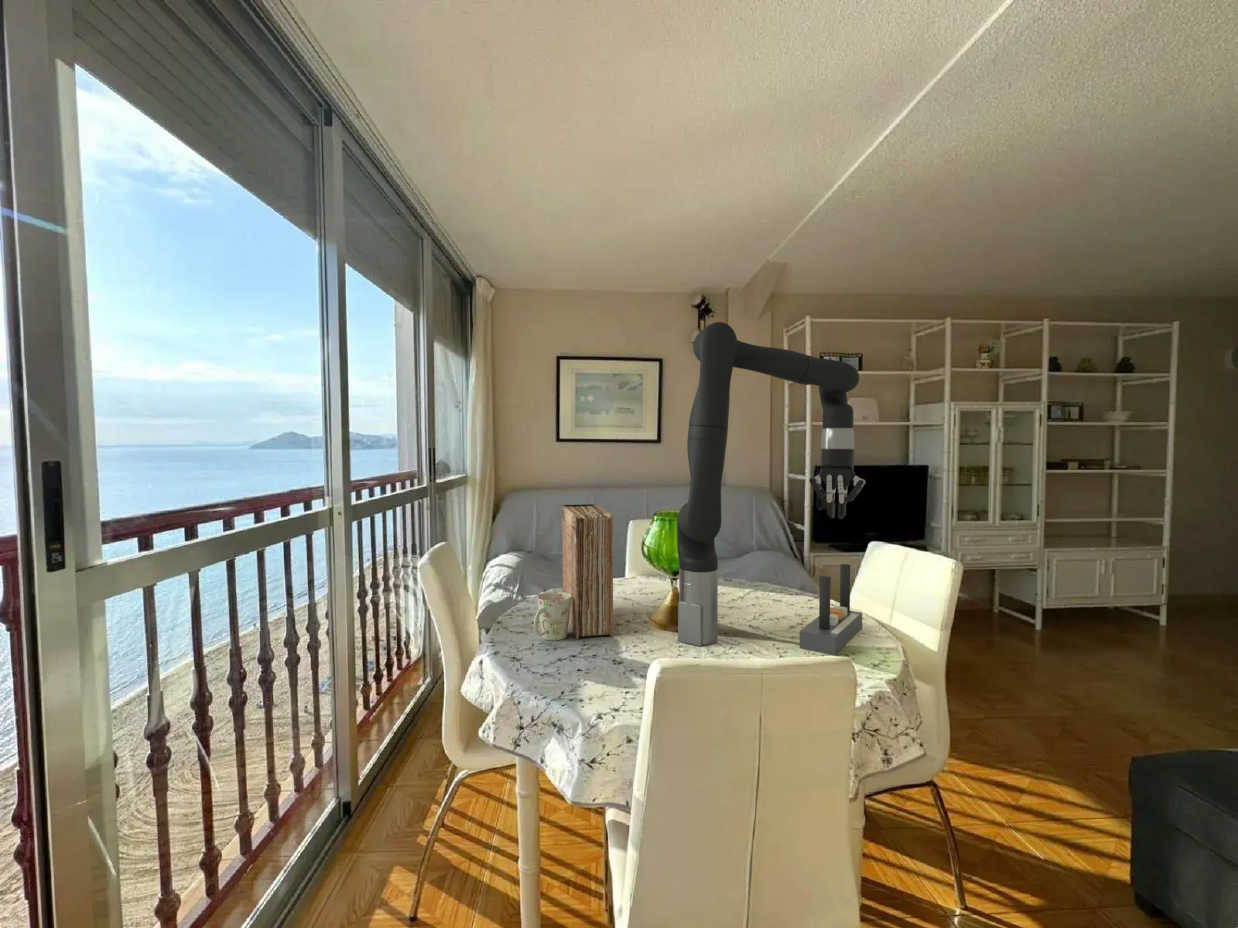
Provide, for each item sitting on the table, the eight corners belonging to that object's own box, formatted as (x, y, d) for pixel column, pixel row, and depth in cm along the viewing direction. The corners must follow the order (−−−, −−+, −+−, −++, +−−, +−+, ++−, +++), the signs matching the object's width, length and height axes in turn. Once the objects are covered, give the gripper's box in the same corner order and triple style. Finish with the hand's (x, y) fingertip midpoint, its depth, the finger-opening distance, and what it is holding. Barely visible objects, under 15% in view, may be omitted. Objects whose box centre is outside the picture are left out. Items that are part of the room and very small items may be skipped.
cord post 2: (848, 613, 151) (848, 566, 151) (838, 611, 153) (839, 565, 152) (850, 610, 153) (851, 564, 153) (841, 609, 154) (841, 563, 154)
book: (613, 637, 145) (613, 515, 144) (575, 640, 143) (575, 516, 142) (594, 608, 170) (594, 503, 168) (562, 610, 168) (561, 504, 166)
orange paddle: (839, 620, 144) (840, 612, 144) (827, 618, 146) (827, 610, 146) (842, 618, 146) (842, 610, 146) (830, 615, 148) (830, 607, 148)
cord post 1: (828, 630, 137) (828, 579, 137) (817, 628, 139) (818, 577, 138) (831, 627, 139) (831, 577, 139) (820, 626, 141) (821, 575, 140)
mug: (577, 633, 148) (577, 594, 147) (551, 650, 136) (550, 607, 136) (549, 629, 151) (548, 590, 151) (520, 644, 140) (520, 602, 139)
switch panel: (835, 655, 133) (835, 628, 132) (799, 648, 137) (799, 622, 137) (862, 628, 152) (862, 604, 151) (830, 622, 156) (830, 599, 156)
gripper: (804, 447, 145) (803, 517, 146) (863, 447, 137) (861, 522, 138) (814, 446, 151) (813, 514, 152) (870, 447, 143) (869, 518, 144)
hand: (836, 517), depth 145 cm, fingers closed
